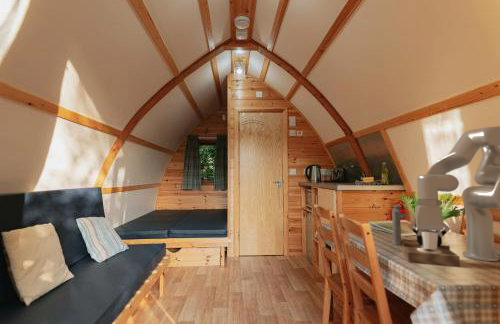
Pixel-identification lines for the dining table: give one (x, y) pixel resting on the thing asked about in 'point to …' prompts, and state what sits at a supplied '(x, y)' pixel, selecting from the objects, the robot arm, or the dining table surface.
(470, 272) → the dining table surface
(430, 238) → the white cup
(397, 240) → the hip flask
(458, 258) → the rack
